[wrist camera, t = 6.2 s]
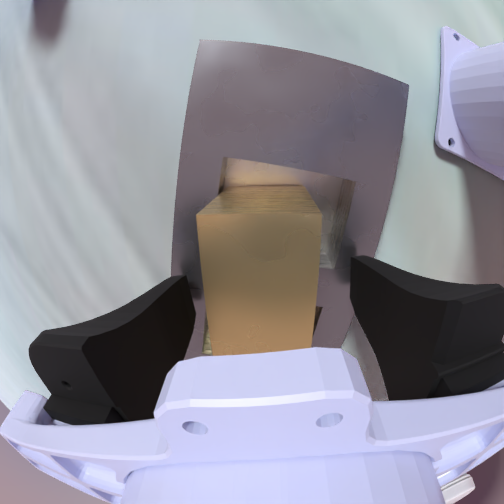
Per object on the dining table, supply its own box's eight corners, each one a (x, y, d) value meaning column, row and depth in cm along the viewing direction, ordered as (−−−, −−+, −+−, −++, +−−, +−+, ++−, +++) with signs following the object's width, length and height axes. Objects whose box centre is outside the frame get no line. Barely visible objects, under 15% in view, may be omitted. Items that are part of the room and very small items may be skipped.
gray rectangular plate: (389, 91, 11) (409, 84, 9) (304, 394, 18) (306, 417, 16) (208, 54, 11) (200, 39, 9) (179, 379, 18) (173, 400, 16)
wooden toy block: (304, 185, 13) (322, 214, 7) (298, 329, 16) (302, 404, 10) (228, 186, 13) (196, 214, 8) (236, 328, 16) (220, 401, 11)
